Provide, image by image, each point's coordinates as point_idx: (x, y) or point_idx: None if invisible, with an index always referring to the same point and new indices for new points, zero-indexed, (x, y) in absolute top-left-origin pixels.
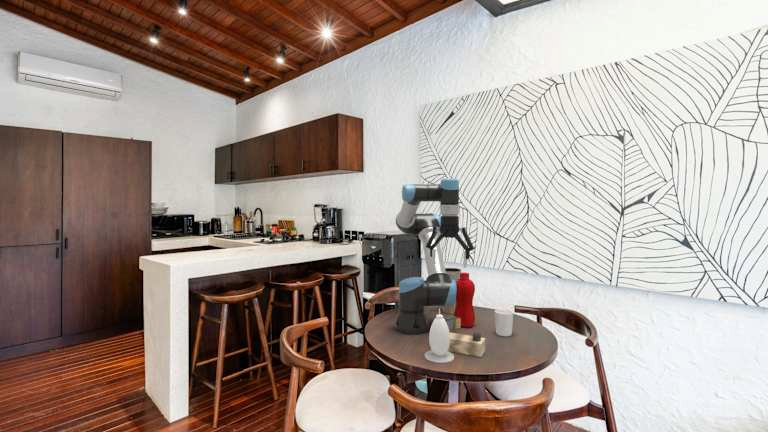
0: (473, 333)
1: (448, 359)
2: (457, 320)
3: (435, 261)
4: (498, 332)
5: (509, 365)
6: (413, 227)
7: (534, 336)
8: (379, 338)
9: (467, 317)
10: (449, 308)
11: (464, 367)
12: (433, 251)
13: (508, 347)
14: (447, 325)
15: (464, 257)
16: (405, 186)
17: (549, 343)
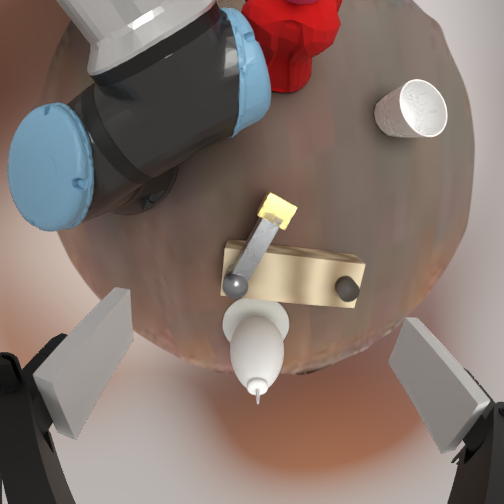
0: (341, 294)
1: None
2: (287, 222)
3: (120, 317)
4: (384, 130)
5: (394, 310)
6: None
7: (451, 123)
8: (92, 266)
9: (296, 84)
10: None
11: (312, 349)
12: (78, 424)
13: (403, 214)
14: (278, 362)
15: (426, 415)
16: None
17: (472, 163)
